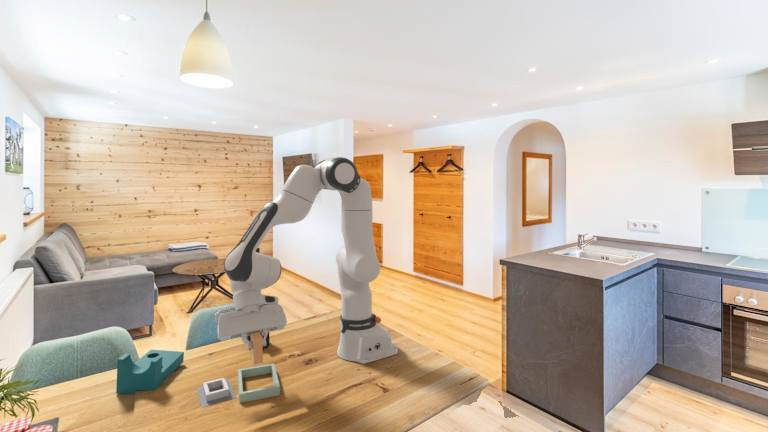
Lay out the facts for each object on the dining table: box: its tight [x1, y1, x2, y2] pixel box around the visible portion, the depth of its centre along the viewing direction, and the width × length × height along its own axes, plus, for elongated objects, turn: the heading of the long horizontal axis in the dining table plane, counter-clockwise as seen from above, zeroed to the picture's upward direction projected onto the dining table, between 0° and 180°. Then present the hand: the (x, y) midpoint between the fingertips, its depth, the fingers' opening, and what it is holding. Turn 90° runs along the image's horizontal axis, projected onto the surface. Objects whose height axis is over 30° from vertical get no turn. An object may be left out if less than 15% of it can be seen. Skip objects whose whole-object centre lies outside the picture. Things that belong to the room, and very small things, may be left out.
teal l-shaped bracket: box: [115, 349, 185, 395], centre depth 120 cm, size 18×11×10 cm, turn 3°
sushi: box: [247, 332, 270, 351], centre depth 144 cm, size 8×8×8 cm
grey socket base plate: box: [196, 377, 237, 409], centre depth 111 cm, size 9×12×3 cm
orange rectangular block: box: [250, 332, 264, 366], centre depth 114 cm, size 2×4×8 cm, turn 32°
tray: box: [237, 363, 281, 404], centre depth 115 cm, size 11×15×4 cm
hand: (257, 347), depth 113 cm, fingers closed on orange rectangular block, 2 cm apart
